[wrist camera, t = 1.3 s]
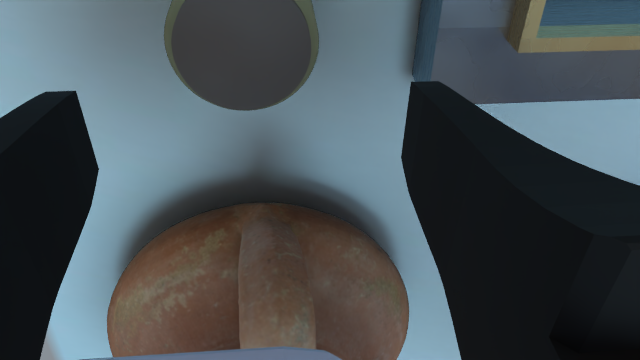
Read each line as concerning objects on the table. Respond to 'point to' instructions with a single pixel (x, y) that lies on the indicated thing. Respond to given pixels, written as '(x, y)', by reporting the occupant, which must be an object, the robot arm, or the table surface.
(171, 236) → the ceramic jug
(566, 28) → the grey square base
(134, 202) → the table surface
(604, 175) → the robot arm
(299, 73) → the oil can
